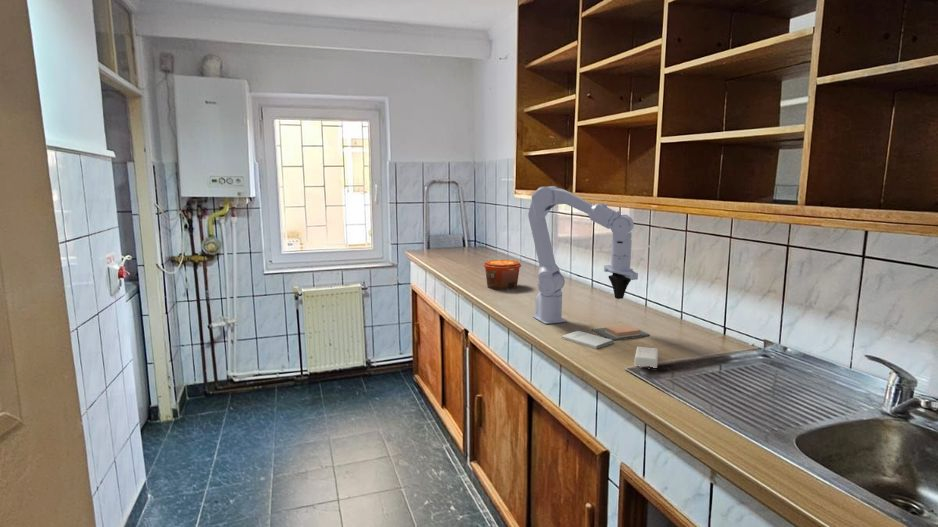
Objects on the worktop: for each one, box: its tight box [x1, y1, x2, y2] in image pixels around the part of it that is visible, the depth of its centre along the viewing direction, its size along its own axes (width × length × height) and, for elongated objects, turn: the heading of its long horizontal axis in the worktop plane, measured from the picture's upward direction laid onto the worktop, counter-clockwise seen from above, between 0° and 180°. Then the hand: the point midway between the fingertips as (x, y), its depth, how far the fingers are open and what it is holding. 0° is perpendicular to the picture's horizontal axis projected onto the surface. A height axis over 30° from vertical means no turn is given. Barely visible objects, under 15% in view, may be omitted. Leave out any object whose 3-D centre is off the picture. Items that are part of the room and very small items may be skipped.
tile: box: [605, 324, 641, 338], centre depth 156 cm, size 2×8×6 cm
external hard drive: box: [561, 330, 614, 350], centre depth 151 cm, size 2×8×12 cm
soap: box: [633, 346, 659, 368], centre depth 134 cm, size 9×6×3 cm, turn 159°
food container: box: [483, 259, 522, 291], centre depth 222 cm, size 16×16×11 cm
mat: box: [591, 327, 651, 341], centre depth 158 cm, size 10×14×1 cm
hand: (619, 298), depth 160 cm, fingers closed
